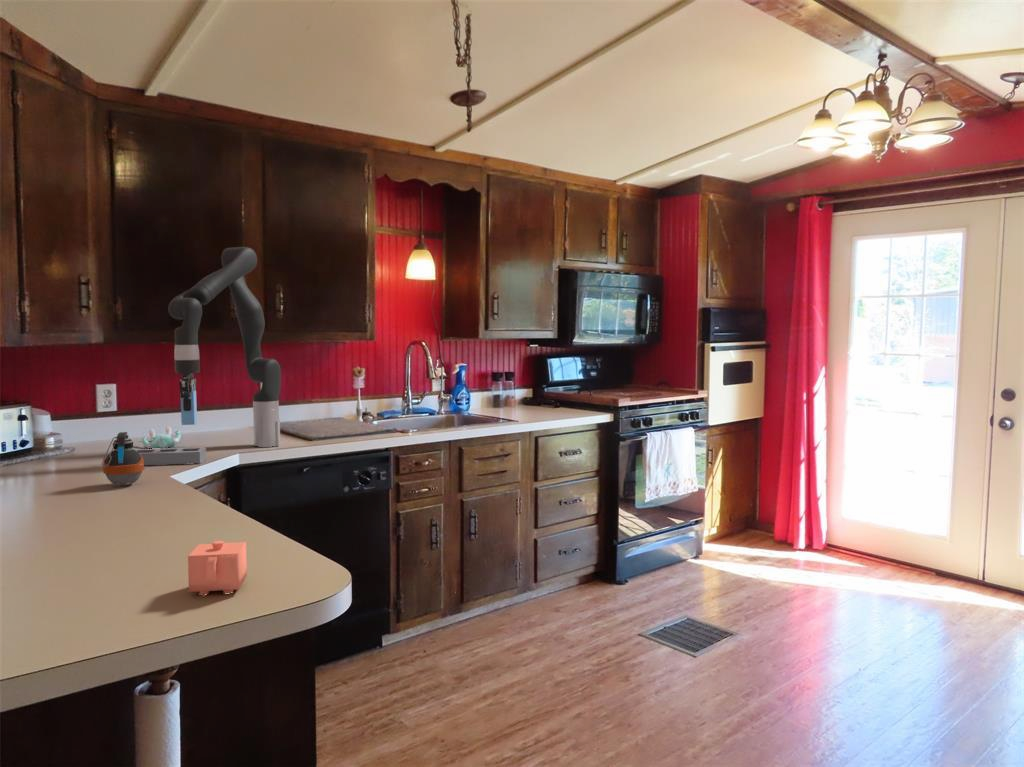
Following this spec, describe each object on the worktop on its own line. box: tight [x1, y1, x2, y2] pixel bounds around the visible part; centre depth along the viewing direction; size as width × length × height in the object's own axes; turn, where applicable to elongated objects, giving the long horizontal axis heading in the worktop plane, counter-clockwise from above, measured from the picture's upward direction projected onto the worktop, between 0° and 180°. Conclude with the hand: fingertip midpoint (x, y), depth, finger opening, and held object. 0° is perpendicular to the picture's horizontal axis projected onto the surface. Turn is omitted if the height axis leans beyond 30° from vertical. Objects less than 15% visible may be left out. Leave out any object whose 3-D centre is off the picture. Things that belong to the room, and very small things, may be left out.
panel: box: [134, 446, 207, 466], centre depth 236 cm, size 22×10×4 cm, turn 103°
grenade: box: [101, 431, 145, 487], centre depth 200 cm, size 11×10×15 cm
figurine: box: [141, 426, 182, 449], centre depth 271 cm, size 13×6×30 cm
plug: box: [180, 390, 198, 426], centre depth 236 cm, size 4×4×11 cm
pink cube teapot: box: [187, 540, 248, 595], centre depth 120 cm, size 8×12×8 cm, turn 10°
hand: (189, 409), depth 236 cm, fingers closed on plug, 4 cm apart
